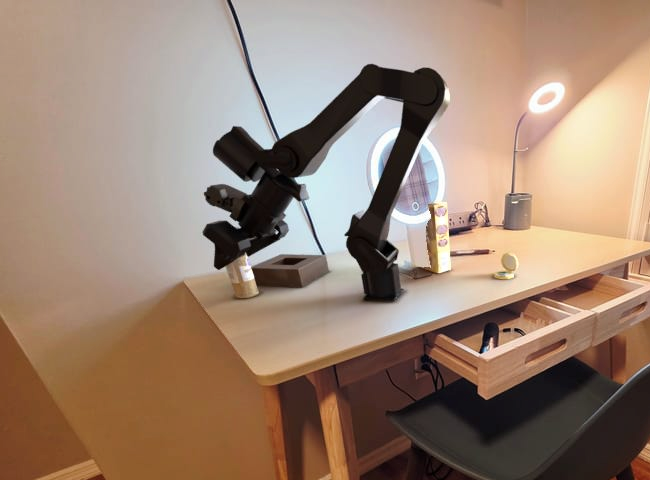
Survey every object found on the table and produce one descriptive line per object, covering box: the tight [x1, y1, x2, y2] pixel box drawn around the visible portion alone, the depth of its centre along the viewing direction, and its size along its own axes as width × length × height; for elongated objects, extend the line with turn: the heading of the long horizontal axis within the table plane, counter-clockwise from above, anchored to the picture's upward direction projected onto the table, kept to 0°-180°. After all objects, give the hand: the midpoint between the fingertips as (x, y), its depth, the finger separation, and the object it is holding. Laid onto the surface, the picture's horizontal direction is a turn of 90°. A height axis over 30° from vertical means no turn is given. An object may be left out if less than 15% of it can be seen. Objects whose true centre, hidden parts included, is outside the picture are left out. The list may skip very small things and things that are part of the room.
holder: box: [251, 253, 330, 288], centre depth 86 cm, size 12×12×4 cm
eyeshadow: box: [493, 252, 519, 280], centre depth 84 cm, size 4×5×5 cm
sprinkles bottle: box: [224, 226, 260, 299], centre depth 74 cm, size 5×5×13 cm
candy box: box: [422, 201, 451, 274], centre depth 88 cm, size 9×4×15 cm, turn 44°
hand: (231, 261), depth 74 cm, fingers open, 9 cm apart
